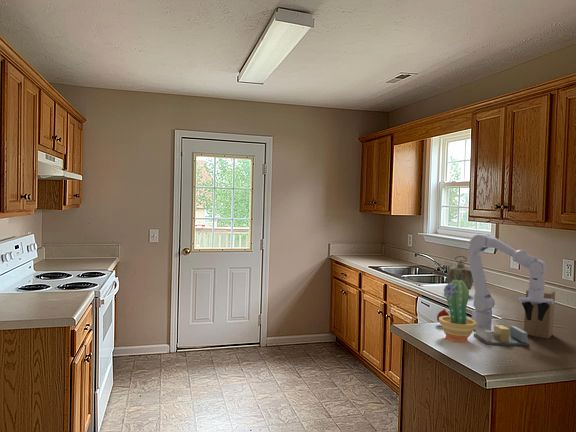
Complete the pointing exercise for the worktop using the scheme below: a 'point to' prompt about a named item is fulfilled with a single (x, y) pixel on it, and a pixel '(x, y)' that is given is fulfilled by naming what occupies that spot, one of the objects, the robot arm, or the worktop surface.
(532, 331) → the wooden block
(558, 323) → the worktop surface
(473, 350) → the worktop surface
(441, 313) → the pomegranate
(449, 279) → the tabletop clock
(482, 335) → the vise
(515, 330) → the block
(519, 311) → the worktop surface
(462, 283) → the potted cactus
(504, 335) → the brass block
